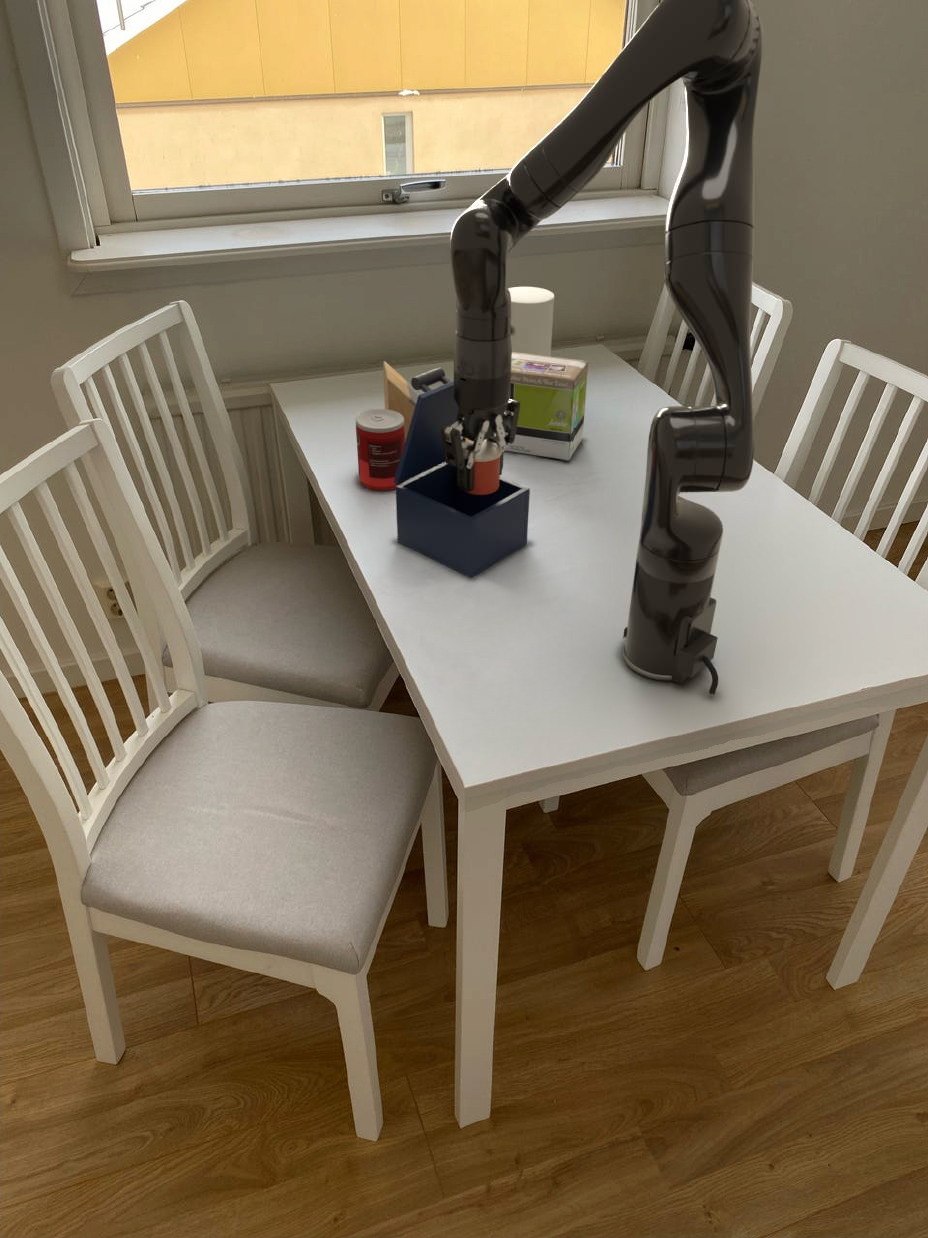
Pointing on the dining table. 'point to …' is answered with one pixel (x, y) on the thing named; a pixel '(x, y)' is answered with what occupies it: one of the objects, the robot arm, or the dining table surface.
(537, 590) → the dining table surface
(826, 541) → the dining table surface
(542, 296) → the container
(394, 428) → the canned food
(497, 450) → the plastic tub
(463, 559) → the navy blue open box
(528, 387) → the tea box
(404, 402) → the sandwich container
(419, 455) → the cool box lid
